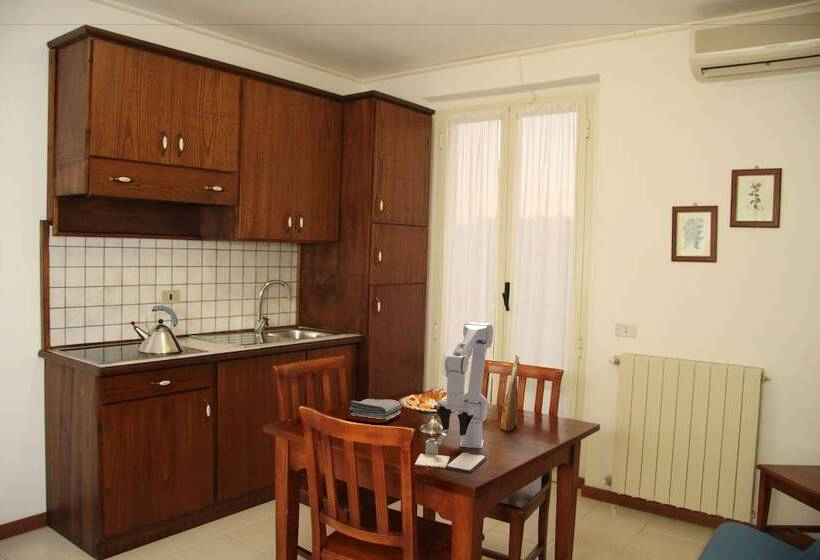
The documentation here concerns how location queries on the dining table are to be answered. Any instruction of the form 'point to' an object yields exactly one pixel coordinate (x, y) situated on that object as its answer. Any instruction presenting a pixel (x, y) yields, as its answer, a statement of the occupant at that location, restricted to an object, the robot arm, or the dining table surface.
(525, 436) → the dining table surface
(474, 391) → the robot arm
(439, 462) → the mat
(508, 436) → the dining table surface
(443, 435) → the lighter
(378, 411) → the towel
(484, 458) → the phone case
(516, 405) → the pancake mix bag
